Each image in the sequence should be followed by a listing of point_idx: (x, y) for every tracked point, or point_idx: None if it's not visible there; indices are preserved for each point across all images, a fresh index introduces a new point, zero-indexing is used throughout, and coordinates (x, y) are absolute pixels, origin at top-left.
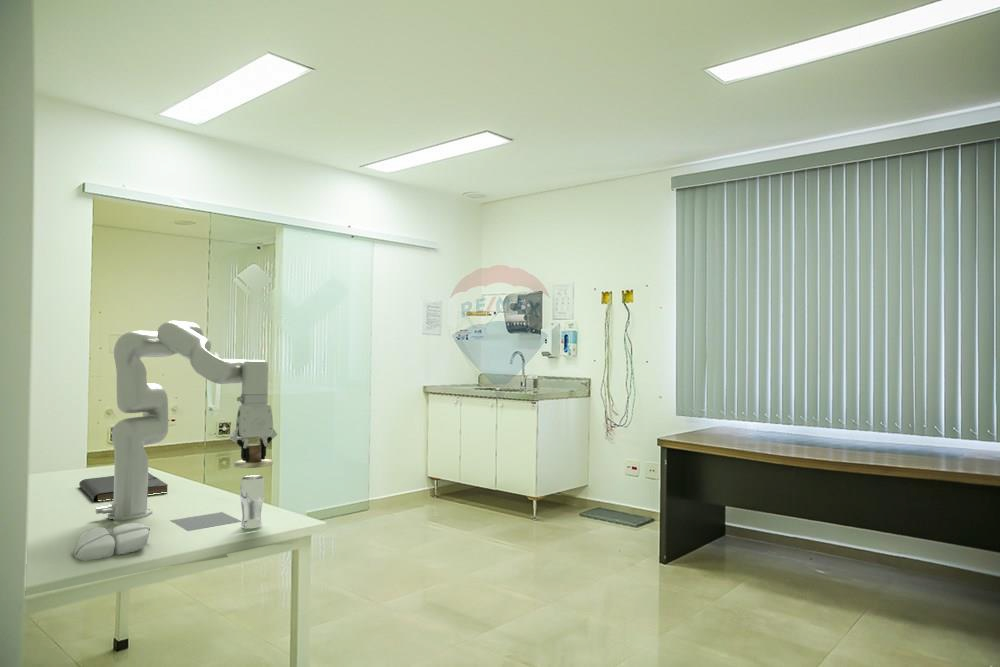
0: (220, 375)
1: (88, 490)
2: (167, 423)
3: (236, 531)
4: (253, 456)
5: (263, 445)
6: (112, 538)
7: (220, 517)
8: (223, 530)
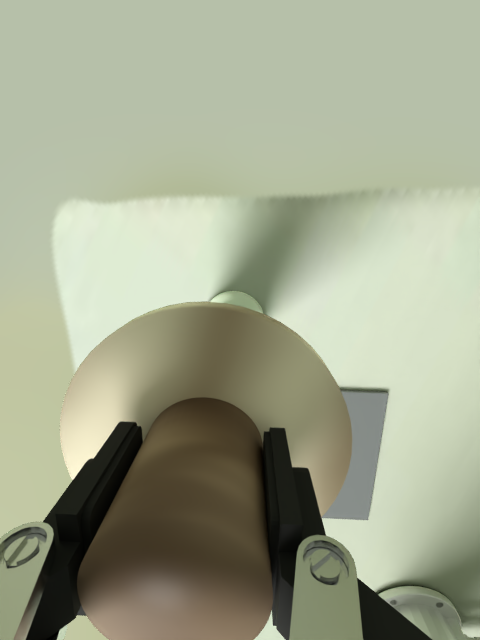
0: None
1: None
2: None
3: (287, 306)
4: (227, 434)
5: (59, 550)
6: None
7: None
8: (309, 343)
